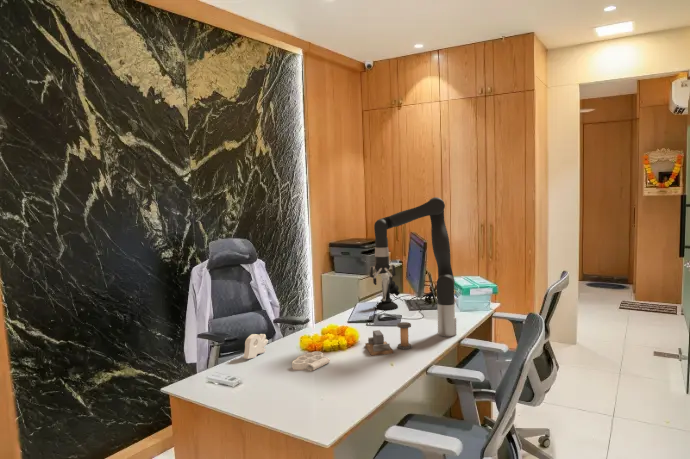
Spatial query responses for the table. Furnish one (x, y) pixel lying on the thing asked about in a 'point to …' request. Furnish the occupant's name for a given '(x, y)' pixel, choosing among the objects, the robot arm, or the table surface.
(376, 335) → the grey brown rectangular block
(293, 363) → the beige block with wells
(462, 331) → the table surface
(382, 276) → the sculpture
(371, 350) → the terminal board
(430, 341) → the table surface
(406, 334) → the bobbin
